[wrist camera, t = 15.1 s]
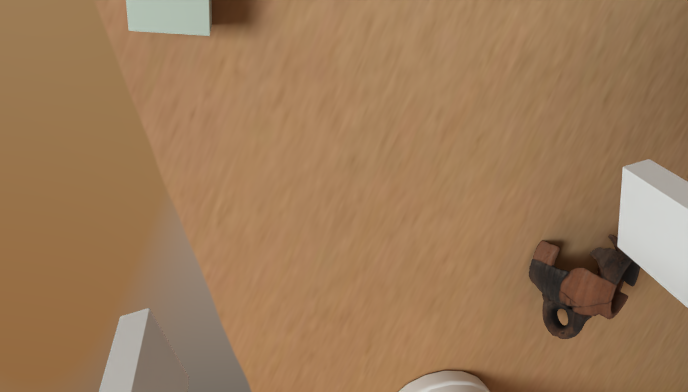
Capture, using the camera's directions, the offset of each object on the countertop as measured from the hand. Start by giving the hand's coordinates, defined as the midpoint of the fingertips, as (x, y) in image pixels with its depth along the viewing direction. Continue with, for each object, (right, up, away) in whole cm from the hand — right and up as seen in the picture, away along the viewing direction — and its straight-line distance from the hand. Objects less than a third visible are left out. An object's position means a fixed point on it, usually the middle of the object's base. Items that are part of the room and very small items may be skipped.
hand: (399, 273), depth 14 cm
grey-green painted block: (-13, +17, +21) cm, 30 cm away
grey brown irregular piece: (+22, -5, +42) cm, 47 cm away
